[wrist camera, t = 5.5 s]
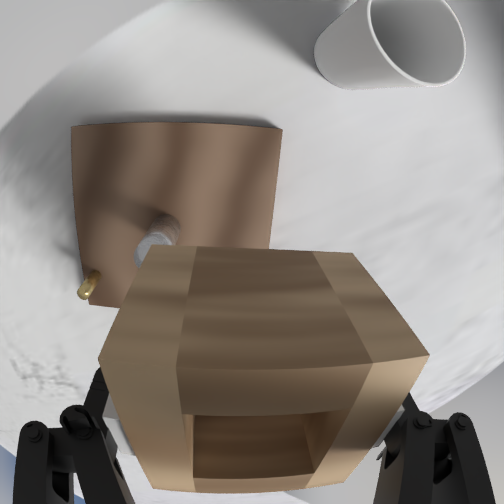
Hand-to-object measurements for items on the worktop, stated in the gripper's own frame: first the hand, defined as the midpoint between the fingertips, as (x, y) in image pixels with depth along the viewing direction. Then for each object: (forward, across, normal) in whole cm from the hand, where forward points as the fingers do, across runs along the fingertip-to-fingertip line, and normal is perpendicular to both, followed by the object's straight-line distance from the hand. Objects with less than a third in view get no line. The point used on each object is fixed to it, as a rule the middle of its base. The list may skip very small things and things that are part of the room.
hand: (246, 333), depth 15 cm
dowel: (+13, -14, -5) cm, 20 cm away
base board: (+15, -6, 0) cm, 16 cm away
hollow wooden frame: (0, 0, -3) cm, 3 cm away
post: (+13, -6, 0) cm, 14 cm away
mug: (+14, +9, +18) cm, 25 cm away
